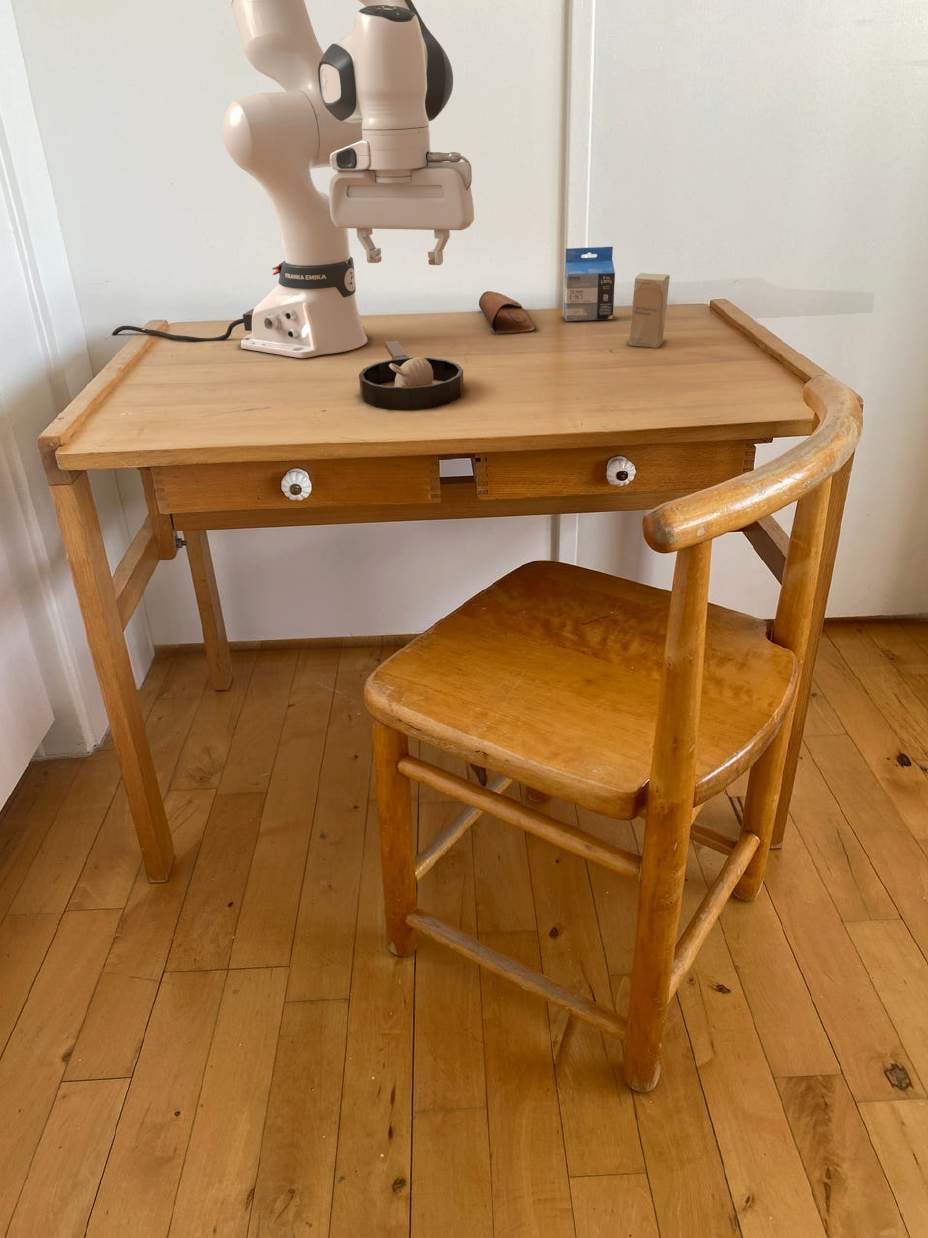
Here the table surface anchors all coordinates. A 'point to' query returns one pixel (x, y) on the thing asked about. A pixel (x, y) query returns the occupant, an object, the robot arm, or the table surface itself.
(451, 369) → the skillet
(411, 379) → the decorative ornament
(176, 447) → the table surface
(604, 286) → the label tape box
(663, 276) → the box
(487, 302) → the sunglasses case
